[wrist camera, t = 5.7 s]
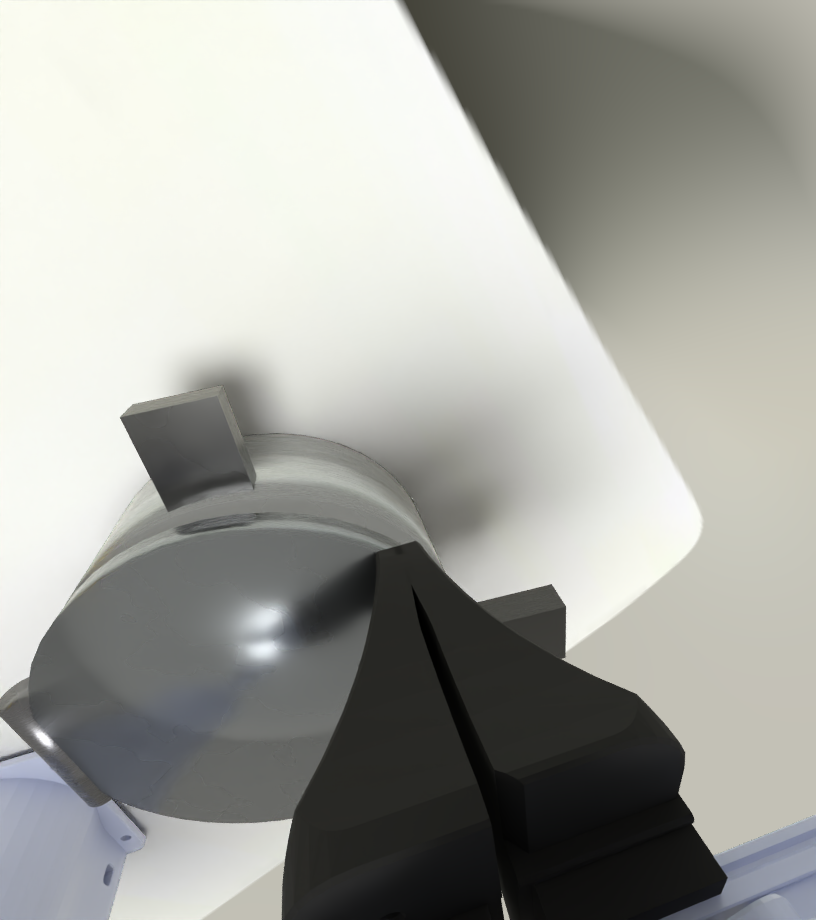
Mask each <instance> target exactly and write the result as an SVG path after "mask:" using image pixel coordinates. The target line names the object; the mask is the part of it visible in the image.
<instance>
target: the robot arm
mask: <svg viewBox="0 0 816 920" xmlns="http://www.w3.org/2000/svg"><path fill="white" fill-rule="evenodd" d="M375 559H376V585H375V594H374V601H373V609H372V614H371V619H370V624H369V629H368V633H367V638H366V642H365V646H364V650H363V654H362V657H361V661H360V664H359V667H358V670H357V674H356V677H355V680H354V682H353V685H352V688H351V691H350V694H349V696H348V699H347V702H346V704H345V707H344V710H343V712H342V715H341V717H340V719H339V722H338V724H337V726H336V728H335V730H334V733H333V735H332V737H331V739H330V742H329V744H328V746H327V748H326V751H325V753H324V755H323V757H322V759H321V761H320V763H319V765H318V767H317V769H316V771H315V773H314V775H313V776H312V778H311V780H310V782H309V784H308V786H307V788H306V790H305V792H304V793H303V795H302V797H301V799H300V801H299V803H298V805H297V807H296V809H295V811H294V815H293V820H292V825H291V829H290V834H289V839H288V845H287V851H286V857H285V866H284V874H283V887H282V920H504V916H503V909H502V903H501V898H502V894H503V897H504V901H505V904H506V908H507V911H508V914H509V918H510V920H816V815H813V816H811V817H808V818H806V819H803V820H801V821H798V822H796V823H793V824H791V825H789V826H786V827H783V828H781V829H778V830H776V831H773V832H771V833H768V834H766V835H763V836H761V837H758V838H756V839H754V840H751V841H748V842H746V843H743V844H741V845H739V846H736V847H733V848H731V849H728V850H726V851H723V852H721V853H719V854H716V855H714V856H713V855H712V853H711V852H710V850H709V849H708V847H707V846H706V844H705V843H704V842H703V841H702V839H701V837H700V836H699V834H698V833H697V831H696V830H695V828H694V827H693V825H692V823H693V822H694V817H693V815H692V813H691V811H690V810H689V808H688V807H687V805H686V804H685V802H684V801H683V800H682V798H681V797H680V795H679V794H678V792H679V788H680V783H681V779H682V775H683V771H684V765H685V752H684V750H683V748H682V746H681V744H680V743H679V741H678V740H677V739H676V737H675V736H674V735H673V733H672V732H671V731H670V730H669V728H668V727H667V726H666V725H665V724H664V722H663V721H662V720H661V719H660V718H659V717H658V716H657V715H656V714H655V713H654V712H653V711H652V710H651V708H650V707H649V706H647V704H646V703H645V702H644V701H643V700H642V699H641V698H640V697H639V696H638V695H637V694H635V693H633V692H630V691H628V690H626V689H623V688H621V687H619V686H616V685H614V684H612V683H609V682H606V681H604V680H602V679H600V678H598V677H595V676H593V675H591V674H589V673H587V672H585V671H583V670H581V669H579V668H577V667H575V666H573V665H571V664H569V663H567V662H565V661H564V660H562V659H560V658H558V657H557V656H555V655H553V654H552V653H550V652H548V651H546V650H545V649H543V648H541V647H539V646H538V645H536V644H534V643H532V642H531V641H529V640H528V639H526V638H525V637H523V636H522V635H520V634H519V633H517V632H515V631H514V630H512V629H511V628H510V627H508V626H507V625H505V624H504V623H503V622H501V621H500V620H498V619H497V618H496V617H494V616H493V615H492V614H490V613H489V612H488V611H487V610H485V609H484V608H483V607H482V606H480V605H479V604H478V603H477V602H476V601H475V600H473V599H472V598H471V597H470V596H469V595H468V594H466V593H465V592H464V591H463V590H462V589H461V588H460V587H459V586H458V585H457V584H456V583H455V582H454V581H453V580H452V579H451V578H449V577H448V576H447V575H446V574H445V572H444V571H443V570H442V569H441V568H440V567H439V566H438V565H437V564H436V563H435V562H434V561H433V559H432V558H431V557H430V556H429V555H428V553H427V552H426V551H425V550H424V548H423V547H422V546H421V544H420V543H419V542H417V541H413V542H410V543H406V544H403V545H399V546H395V547H392V548H388V549H384V550H381V551H378V552H377V554H376V555H375ZM145 841H146V836H145V835H144V834H143V833H142V832H141V831H140V829H139V828H138V827H137V826H136V825H135V824H134V823H133V822H132V821H131V820H130V819H129V818H128V816H127V815H126V814H125V813H124V812H123V811H122V810H121V809H120V808H119V807H118V806H117V805H116V803H115V802H114V801H113V800H112V799H111V800H110V801H109V802H107V803H106V804H104V805H102V806H99V807H90V806H88V805H87V804H86V803H85V802H84V801H83V800H82V799H81V798H80V797H79V796H78V795H77V794H76V793H75V792H74V791H73V790H72V789H71V788H70V787H69V786H68V785H67V784H66V782H65V781H64V780H63V779H62V778H61V777H60V776H59V775H58V774H57V773H56V772H55V771H54V770H53V769H52V768H51V767H50V766H49V765H48V764H47V763H46V762H45V761H44V760H43V759H42V758H41V757H40V756H39V755H38V754H37V753H36V752H32V753H28V754H25V755H22V756H18V757H15V758H12V759H9V760H5V761H2V762H0V920H109V917H110V913H111V910H112V906H113V903H114V899H115V895H116V892H117V888H118V884H119V881H120V877H121V874H122V870H123V866H124V863H125V859H126V855H127V854H128V853H131V852H134V851H137V850H140V849H141V848H142V847H144V845H145ZM501 891H502V892H501Z"/></svg>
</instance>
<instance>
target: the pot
mask: <svg viewBox="0 0 816 920" xmlns="http://www.w3.org/2000/svg"><path fill="white" fill-rule="evenodd" d="M120 419H121V421H122V422H123V424H124V426H125V428H126V430H127V432H128V434H129V436H130V438H131V440H132V442H133V444H134V446H135V448H136V450H137V452H138V454H139V456H140V458H141V460H142V462H143V464H144V466H145V468H146V470H147V472H148V474H149V476H150V478H151V479H150V480H149V481H148V482H147V483H146V484H145V485H144V487H143V488H142V489H141V490H140V491H139V492H138V493H137V494H136V495H135V496H134V498H133V499H132V501H131V503H130V504H129V506H128V507H127V509H126V510H125V512H124V513H123V515H122V516H121V518H120V519H119V521H118V523H117V524H116V526H115V527H114V529H113V531H112V532H111V534H110V535H109V537H108V538H107V540H106V542H105V543H104V545H103V546H102V548H101V549H100V551H99V553H98V554H97V556H96V557H95V559H94V560H93V562H92V564H91V565H90V567H89V568H88V570H87V571H86V573H85V575H84V576H83V578H82V579H81V581H80V582H79V584H78V586H77V587H76V589H75V590H74V592H73V593H72V595H73V594H74V593H75V591H76V590H77V589H78V588H79V587H80V586H81V585H82V584H83V583H84V582H85V581H86V580H87V579H88V578H89V577H90V576H91V575H92V573H94V572H95V571H96V570H98V569H99V568H100V567H101V566H103V565H104V564H105V563H107V562H108V561H109V560H111V559H112V558H113V557H114V556H116V555H118V554H119V553H121V552H123V551H125V550H126V549H128V548H130V547H132V546H133V545H135V544H137V543H139V542H140V541H142V540H145V539H147V538H150V537H152V536H154V535H157V534H159V533H162V532H164V531H167V530H169V529H171V528H175V527H178V526H182V525H186V524H189V523H193V522H196V521H200V520H203V519H209V518H215V517H221V516H227V515H233V514H245V513H262V512H279V513H300V514H308V515H314V516H321V517H327V518H333V519H337V520H341V521H344V522H348V523H352V524H355V525H359V526H363V527H365V528H367V529H370V530H372V531H375V532H377V533H380V534H382V535H385V536H387V537H389V538H391V539H393V540H394V541H396V542H398V543H400V544H402V545H403V544H406V543H410V542H413V541H417V542H419V543H420V544H421V546H422V547H423V548H424V550H425V551H426V552H427V553H428V555H429V556H430V557H431V558H432V559H433V561H434V562H435V563H436V564H437V565H438V566H439V567H440V568H441V569H442V570H443V571H444V569H443V567H442V565H441V563H440V560H439V558H438V556H437V554H436V552H435V549H434V547H433V545H432V543H431V540H430V538H429V536H428V534H427V532H426V529H425V527H424V525H423V523H422V520H421V518H420V516H419V514H418V512H417V509H416V507H415V505H414V503H413V501H412V500H411V498H410V497H409V495H408V494H407V492H406V490H405V489H404V488H403V487H402V486H401V485H400V483H399V482H398V481H397V480H396V479H395V478H394V477H393V476H392V475H391V474H390V473H389V472H387V471H386V470H385V469H384V468H383V467H381V466H380V465H379V464H377V463H376V462H374V461H373V460H371V459H369V458H368V457H366V456H365V455H363V454H361V453H359V452H357V451H355V450H352V449H350V448H348V447H346V446H344V445H340V444H337V443H334V442H331V441H328V440H324V439H320V438H315V437H309V436H304V435H294V434H278V433H277V434H258V435H249V436H243V437H242V435H241V432H240V429H239V427H238V424H237V421H236V419H235V416H234V413H233V411H232V408H231V405H230V403H229V400H228V397H227V395H226V392H225V389H224V387H223V385H220V386H215V387H211V388H206V389H201V390H197V391H192V392H188V393H183V394H179V395H174V396H169V397H165V398H160V399H156V400H151V401H147V402H142V403H138V404H133V405H132V406H131V407H130V408H129V409H128V410H127V411H126V412H125V413H124V414H123V415H122V416H121V417H120ZM72 595H71V597H72ZM71 597H70V598H71ZM70 598H69V600H70ZM69 600H68V601H69ZM68 601H67V602H68ZM66 604H67V603H66Z"/></svg>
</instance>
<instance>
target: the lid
mask: <svg viewBox="0 0 816 920" xmlns="http://www.w3.org/2000/svg"><path fill="white" fill-rule="evenodd" d="M399 545H402V544H400V543H398V542H396V541H394V540H393V539H391V538H389V537H387V536H385V535H382V534H380V533H377V532H375V531H372V530H370V529H367V528H365V527H363V526H359V525H355V524H352V523H348V522H344V521H341V520H337V519H333V518H327V517H321V516H314V515H308V514H300V513H279V512H262V513H245V514H233V515H227V516H221V517H215V518H209V519H203V520H200V521H196V522H193V523H189V524H186V525H182V526H178V527H175V528H171V529H169V530H167V531H164V532H162V533H159V534H157V535H154V536H152V537H150V538H147V539H145V540H142V541H140V542H139V543H137V544H135V545H133V546H132V547H130V548H128V549H126V550H125V551H123V552H121V553H119V554H118V555H116V556H114V557H113V558H112V559H111V560H109V561H108V562H107V563H105V564H104V565H103V566H101V567H100V568H99V569H98V570H96V571H95V572H94V573H92V575H91V576H90V577H89V578H88V579H87V580H86V581H85V582H84V583H83V584H82V585H81V586H80V587H79V588H78V589H77V590H76V591H75V593H74V594H73V595H72V597H71V598H70V600H69V601H68V602H67V604H66V605H65V607H64V608H63V609H62V611H61V612H60V614H59V615H58V616H57V618H56V619H55V621H54V622H53V624H52V625H51V627H50V628H49V630H48V631H47V633H46V634H45V636H44V637H43V639H42V640H41V642H40V644H39V647H38V649H37V652H36V654H35V657H34V659H33V662H32V664H31V671H30V677H29V678H26V679H24V680H22V681H21V682H19V683H17V684H16V685H14V686H13V687H12V688H11V689H9V690H8V691H7V692H6V693H5V694H4V695H3V696H2V697H1V699H0V717H1V718H2V719H3V720H4V721H5V722H6V723H7V724H8V725H9V726H10V727H11V728H12V729H13V730H14V731H15V732H16V733H17V734H18V735H19V736H20V737H21V738H22V739H23V740H24V741H25V742H26V743H27V744H28V745H29V746H30V747H31V748H32V749H33V750H34V751H35V752H36V753H37V754H38V755H39V756H40V757H41V758H42V759H43V760H44V761H45V762H46V763H47V764H48V765H49V766H50V767H51V768H52V769H53V770H54V771H55V772H56V773H57V774H58V775H59V776H60V777H61V778H62V779H63V780H64V781H65V782H66V784H67V785H68V786H69V787H70V788H71V789H72V790H73V791H74V792H75V793H76V794H77V795H78V796H79V797H80V798H81V799H82V800H83V801H84V802H85V803H86V804H87V805H88V806H90V807H99V806H102V805H104V804H106V803H107V802H109V801H110V800H111V799H112V798H113V799H115V800H118V801H120V802H123V803H126V804H128V805H131V806H133V807H136V808H139V809H142V810H146V811H149V812H153V813H156V814H160V815H165V816H170V817H175V818H180V819H186V820H194V821H203V822H217V823H257V822H268V821H278V820H285V819H291V818H293V815H294V811H295V809H296V807H297V805H298V803H299V801H300V799H301V797H302V795H303V793H304V792H305V790H306V788H307V786H308V784H309V782H310V780H311V778H312V776H313V775H314V773H315V771H316V769H317V767H318V765H319V763H320V761H321V759H322V757H323V755H324V753H325V751H326V748H327V746H328V744H329V742H330V739H331V737H332V735H333V733H334V730H335V728H336V726H337V724H338V722H339V719H340V717H341V715H342V712H343V710H344V707H345V704H346V702H347V699H348V696H349V694H350V691H351V688H352V685H353V682H354V680H355V677H356V674H357V670H358V667H359V664H360V661H361V657H362V654H363V650H364V646H365V642H366V638H367V633H368V629H369V624H370V619H371V614H372V609H373V601H374V594H375V585H376V559H375V555H376V554H377V552H378V551H381V550H384V549H388V548H392V547H395V546H399ZM478 604H479V605H480V606H482V607H483V608H484V609H485V610H487V611H488V612H489V613H490V614H492V615H493V616H494V617H496V618H497V619H498V620H500V621H501V622H503V623H504V624H505V625H507V626H508V627H510V628H511V629H512V630H514V631H515V632H517V633H519V634H520V635H522V636H523V637H525V638H526V639H528V640H529V641H531V642H532V643H534V644H536V645H538V646H539V647H541V648H543V649H545V650H546V651H548V652H550V653H552V654H553V655H555V656H557V657H558V658H560V659H562V658H565V645H566V606H565V604H564V603H563V601H562V600H561V598H560V597H559V595H558V594H557V592H556V590H555V589H554V587H553V586H552V584H551V585H547V586H543V587H539V588H535V589H531V590H527V591H522V592H518V593H514V594H510V595H506V596H502V597H498V598H494V599H490V600H486V601H482V602H478Z"/></svg>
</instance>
